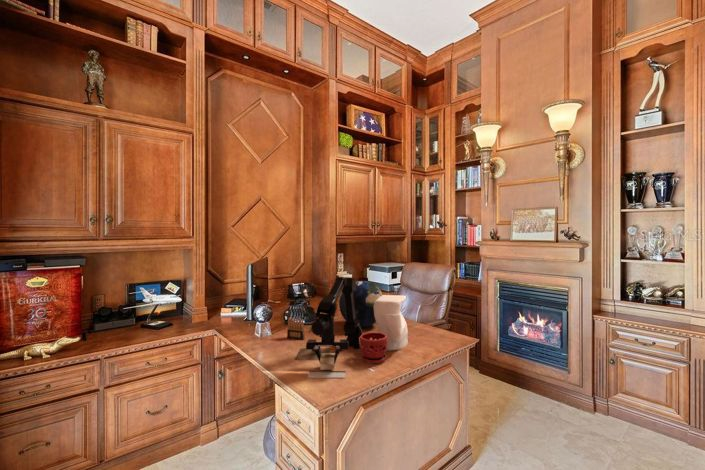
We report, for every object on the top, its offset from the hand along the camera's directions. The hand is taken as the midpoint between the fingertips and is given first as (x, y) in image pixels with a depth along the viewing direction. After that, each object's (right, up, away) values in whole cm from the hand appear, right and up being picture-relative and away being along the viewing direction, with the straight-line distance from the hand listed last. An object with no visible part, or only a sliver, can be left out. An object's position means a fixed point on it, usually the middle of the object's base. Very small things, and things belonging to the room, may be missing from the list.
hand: (327, 363), depth 147 cm
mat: (0, -4, 0) cm, 4 cm away
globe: (+17, -3, +70) cm, 72 cm away
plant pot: (+21, -4, +13) cm, 25 cm away
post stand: (-9, -3, +18) cm, 20 cm away
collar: (0, -2, 0) cm, 2 cm away
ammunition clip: (-22, -3, +45) cm, 51 cm away
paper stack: (+31, -3, +32) cm, 45 cm away
